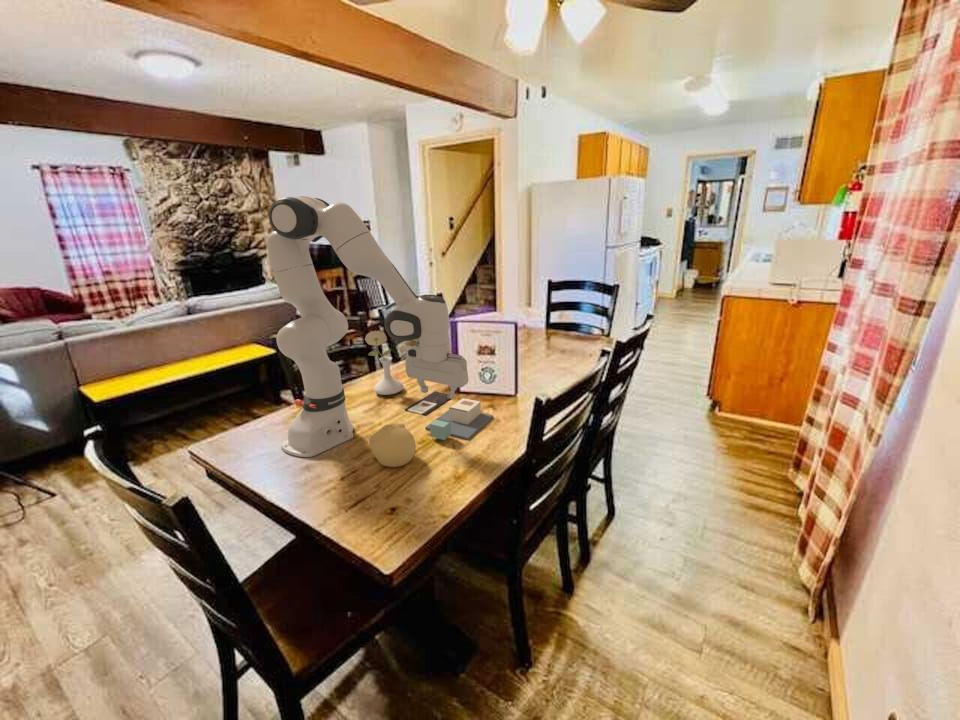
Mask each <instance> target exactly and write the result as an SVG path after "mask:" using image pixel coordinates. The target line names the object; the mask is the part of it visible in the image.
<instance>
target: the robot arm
mask: <svg viewBox="0 0 960 720" xmlns="http://www.w3.org/2000/svg"><path fill="white" fill-rule="evenodd" d="M268 219H269V223H270V224H269V225H270V226H271V227H272V229H273V231H272V232H271V233H269V235H268V237H266V238H267V239H266V247H267V255H268V259H269V262H270V267H271V269H272V273H273V275H274V278H275V281H276V285H277V287H278V290H279V293H280V296H281V299H283V301H284V302H286V303H288V304H291V305H292V306H293V307H294V308H295V309H296V310H297V312H298V313H299V315H300V317H299V318H298V319H293V320H291V321H290V322H288V323H287V324H285V325H284V326H283V327H281V328H280V329H279V330H278V332H277V335H276V344H277V347H278V350H279V351H280V352H281V353H282V354H283V355H284V356H285V357H287V358H288V359H290V360H292V361H294V364H296V366H297V368H298V370H299V372H300V374H301V378H302V384H303V388H304V396H303V400H302V399H299V398H297V399H295V401H294V406H295V405H296V406H297V407H302V409H301V410H300V411H299V412H298V414H297V416H296V417H295V418H294V420H293V421H292V422H291V423H290V425H289V426H288V429H287V439H286V440H284V441H283V442H282V443H281V444H280V447H281V448H280V449H282V451H283V452H285V453H286V454H289V455H292V456H295V457H300V458H313V457H314V456H316V455H319V454H321V453H323V452H325V451H327V450H329V449H332V448H334V447H336V446H338V445H340V444H343V443H345V442H346V441H349V440H351V439H353V437H354V433H353V431H354V426H353V423H352V421H351V419H350V417H349V414H348V410H347V407H346V402H345V401H346V394H345V390H344V388H343V385H342V378H341V370H340V366H339V365H338V364H337V362H334V361H332V360H330V358H329V356H328V354H327V353H328V352H327V348H328V347H331V346H332V345H335V344H336V343H338V342H339V341H340V340H341V339H342V338H343V337H344V336H345V335H346V334H347V332H348V330H349V323H348V319H347V317H346V316H345V314H344V313H343V312H341V311H339V309H337V308H335V307H334V306H333V305H332V303H331V302H330V300H329V299H328V298H327V296H326V295H325V293H324V291H323V289H322V287H321V284H320V281H319V278H318V275H317V272H316V269H315V266H314V264H313V263H314V262H313V260H312V256H311V254H310V250H309V249H310V244H311V242H312V243H317V242H318V241H319V240H321V239H322V238H324V239H325V240H327V241H328V243H329V244H330V245H331V248H332V249H333V250H334V252H335V254H336V255H337V258H339V261H341V263H342V264H343V265H344V266H345V267H346V268H347V269H348V270H349V271H350V272H352V273H353V274H355V275H360V276H363V277H368V278H370V279H373V280H375V281H377V282H378V283H380V284H381V286H382V287H383V288H384V289H385V291H386V292H387V294H388V295H389V296H390V297H391V300H393V301H394V303H395V305H396V307H395V308H394V309H393V310H391V311H390V312H388V314H387V315H386V317H385V320H384V328H385V331H386V333H387V335H388V336H389V337H390V338H391V339H392V340H394V341H397V342H408V341H414V340H418V342H419V343H418V344H414V345H413V346H410V347H408V348H407V349H405V355H406V358H405V365H404V366H405V374H406V376H407V377H408V378H411V379H415V380H416V381H417V384H418V386H419V388H420V392H421V393H423V394H427V393H428V392H429V386H427V385H426V383H425V382H431V383H435V384H436V383H437V384H441V385H446V386H449V389H450V390H449V391H448V392H447V393H446V394H447V398H450V400H453V399H454V398H455V397H456V396H455V392H456V391H457V389H458V388H460V389H461V388H463V387H465V386H466V385H468V383H469V372H468V365H467V364H468V363H467V360H466V358H465V357H463V356H462V355H461V354H456V353H455V354H454V353H451V339H450V336H449V330H450V329H449V328H450V316H449V315H450V314H449V310H448V304H447V302H446V300H445V299H444V298H442V297H441V296H439V295H436V294H421V295H419V296H418V295H417V294H416V293H414V291H413V290H412V288H411V287H410V286H409V284H408V283H407V282H406V280H405V278H404V277H403V276H402V274H401V273H400V272H399V271H398V268H396V266H395V265H394V264H393V263H392V261H391V260H390V259H389V258H388V256H387V255H386V253H384V251H383V249H382V248H381V247H380V245H379V244H378V242H377V241H376V239H375V237H374V236H373V234H372V233H371V231H370V229H369V228H368V227H367V226H366V224H365V223H364V221H363V220H362V219H361V217H360V216H359V215H358V214H357V212H356V211H355V210H354V209H353V208H352V207H351V206H350V205H349V204H347V203H344V202H335V203H332V204H329V203H328V202H327V201H326V200H323V199H321V198H316V197H310V196H294V197H293V196H285V197H281V198H279V199H277V200H275V201H274V202H273V203H272V204H271V206H270V207H269V211H268Z"/></svg>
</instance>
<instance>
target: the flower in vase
mask: <svg viewBox="0 0 960 720" xmlns="http://www.w3.org/2000/svg"><path fill="white" fill-rule="evenodd" d="M364 340H365V342H366V343H367V345H370V346H374V347H376V350H377V351H376V350H371V351H370V352H369V353H368V354H367V356H373V357H376V356H378V355H380V356H381V357H380V358H379V359H378V361H380V363H381V365H382V368H383V372H384V373H383V377H382V378H381V379H380V380H379V381H378V382H377V383H376V384H375V386H374V387H373V392H375V393H376V394H377V395H384V396H387V395H389V396H390V395H395V394H397V393H399V392H401V391H402V390H403V388H404V385H403V383H402V382H401V380H398V379H396V378H395V377H393V376H392V375H391V367H390V366H391V363H392V362H391V361H392V360H393V357H391V356H387V355H389V354H390V353H391V352H392V348H390V349H388V350H385V351H384V352H383V354H382V353H380V351H379V346H380V345H383V344H385V343H386V341H387V335H386V334H385V333H384V332H383V331H380V330H374V331H373V330H371V331H370V332H368V333H367V334H366V335H365V338H364Z"/></svg>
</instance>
